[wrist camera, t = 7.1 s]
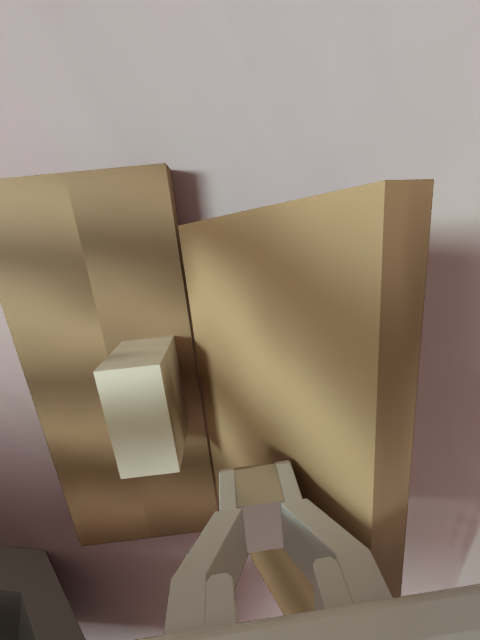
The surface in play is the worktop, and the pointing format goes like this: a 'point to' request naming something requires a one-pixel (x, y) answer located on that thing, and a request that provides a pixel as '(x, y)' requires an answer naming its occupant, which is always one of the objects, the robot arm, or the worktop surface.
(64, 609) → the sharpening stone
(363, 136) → the worktop surface
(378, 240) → the plank
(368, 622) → the robot arm
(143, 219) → the light brown rectangular block
